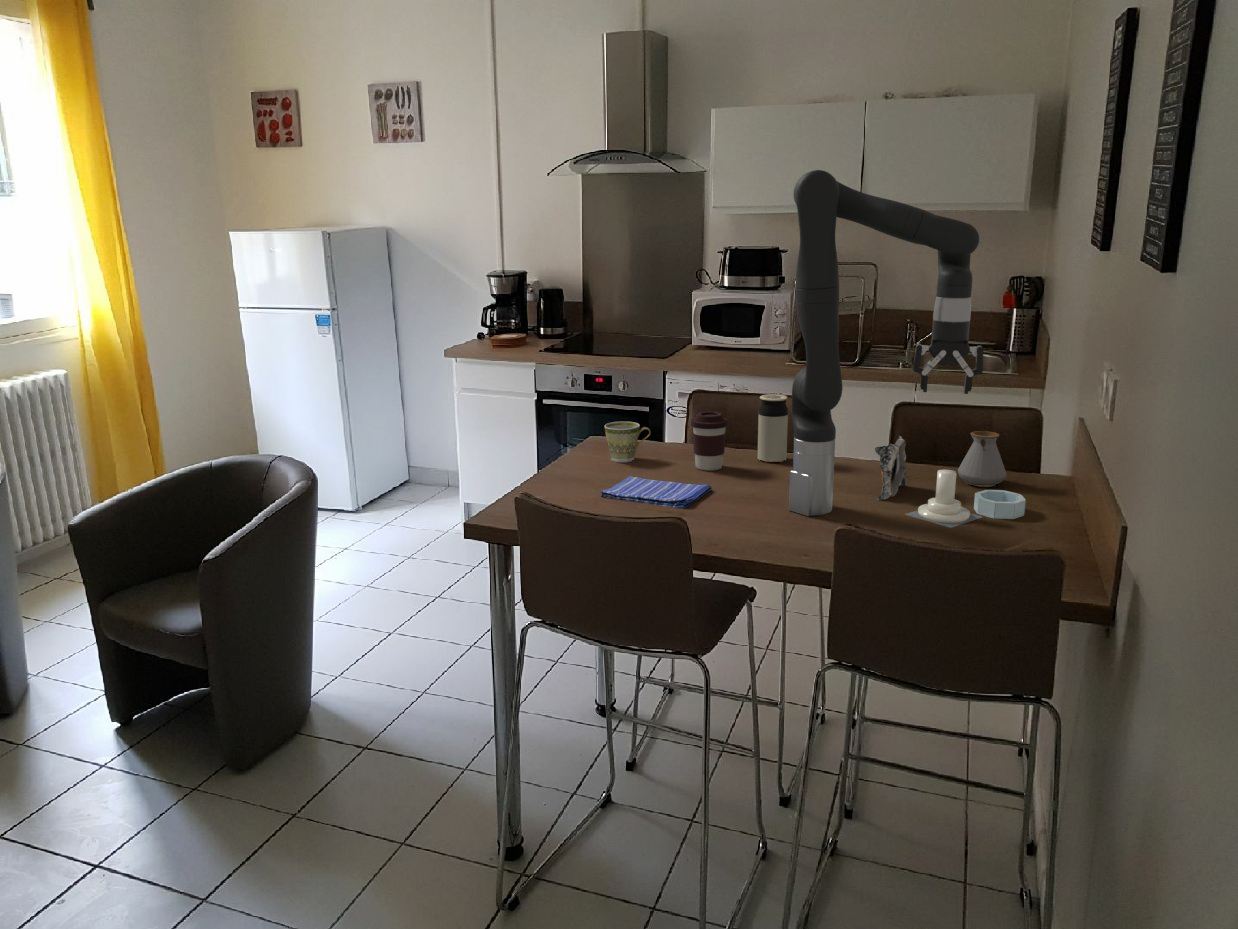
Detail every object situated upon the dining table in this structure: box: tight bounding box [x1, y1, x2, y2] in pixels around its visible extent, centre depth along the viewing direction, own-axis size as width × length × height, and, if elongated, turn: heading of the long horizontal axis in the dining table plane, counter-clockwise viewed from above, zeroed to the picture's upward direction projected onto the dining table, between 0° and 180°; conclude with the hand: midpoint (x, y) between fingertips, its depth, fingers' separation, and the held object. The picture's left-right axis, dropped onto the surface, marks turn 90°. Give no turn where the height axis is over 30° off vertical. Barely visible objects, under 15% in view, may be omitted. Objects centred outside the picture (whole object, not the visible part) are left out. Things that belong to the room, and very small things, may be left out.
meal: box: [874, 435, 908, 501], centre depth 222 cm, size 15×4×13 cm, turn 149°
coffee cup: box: [690, 411, 729, 472], centre depth 248 cm, size 10×10×15 cm
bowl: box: [973, 489, 1027, 520], centre depth 208 cm, size 10×10×4 cm
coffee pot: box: [957, 430, 1008, 485], centre depth 225 cm, size 21×12×15 cm, turn 156°
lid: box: [917, 469, 971, 523], centre depth 205 cm, size 11×11×10 cm
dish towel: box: [600, 475, 712, 509], centre depth 227 cm, size 17×24×3 cm
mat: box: [904, 509, 983, 529], centre depth 206 cm, size 12×12×1 cm
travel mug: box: [757, 393, 789, 462], centre depth 254 cm, size 8×8×18 cm
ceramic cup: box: [604, 421, 652, 463], centre depth 258 cm, size 13×10×10 cm
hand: (945, 392), depth 201 cm, fingers open, 8 cm apart
